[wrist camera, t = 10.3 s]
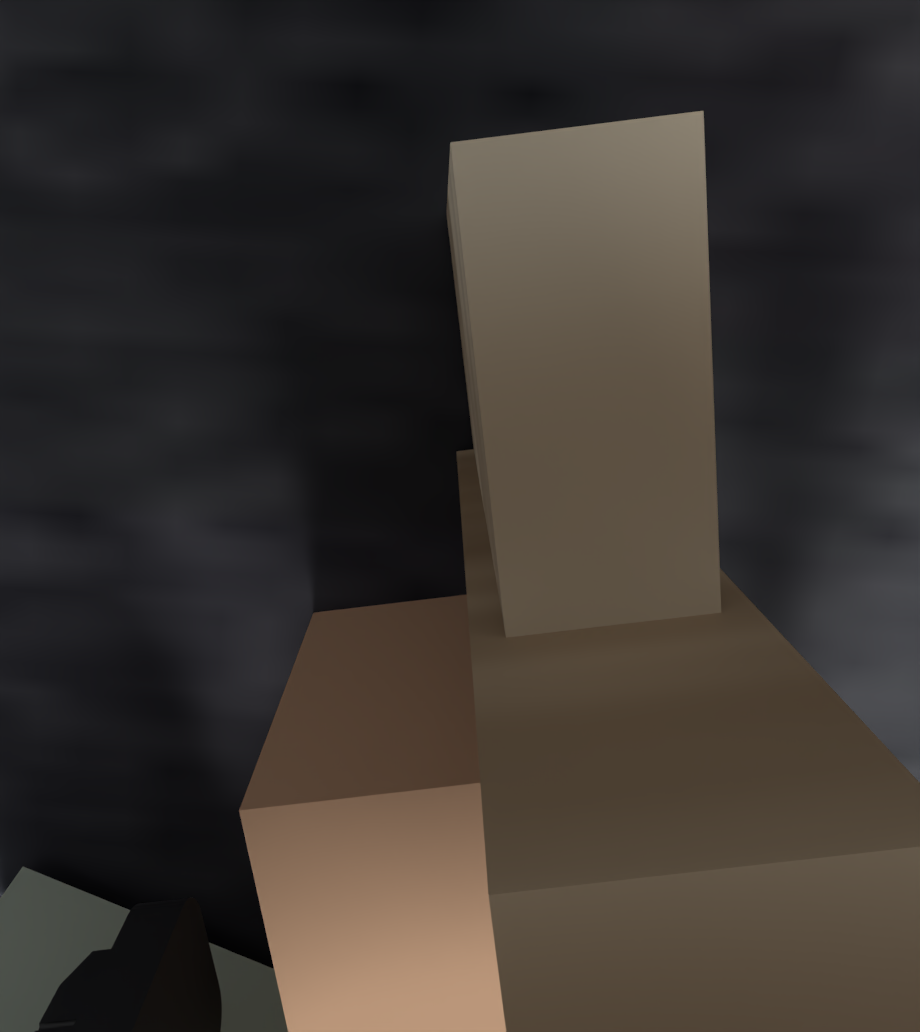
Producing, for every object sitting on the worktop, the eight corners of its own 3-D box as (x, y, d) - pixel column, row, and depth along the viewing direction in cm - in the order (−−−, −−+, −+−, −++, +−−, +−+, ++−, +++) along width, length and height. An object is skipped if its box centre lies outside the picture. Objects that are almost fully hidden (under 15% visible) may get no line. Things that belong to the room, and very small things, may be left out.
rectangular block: (314, 610, 13) (238, 810, 8) (609, 575, 13) (707, 756, 8) (380, 978, 15) (351, 1315, 10) (636, 949, 15) (729, 1274, 10)
